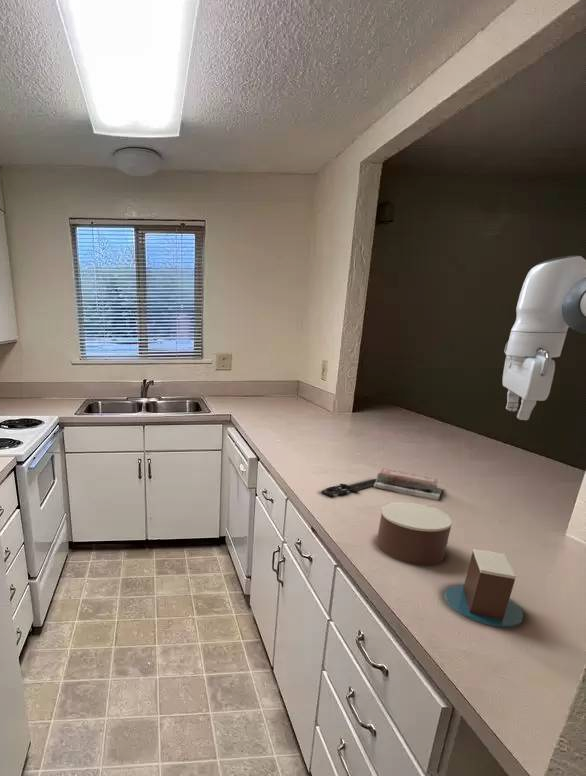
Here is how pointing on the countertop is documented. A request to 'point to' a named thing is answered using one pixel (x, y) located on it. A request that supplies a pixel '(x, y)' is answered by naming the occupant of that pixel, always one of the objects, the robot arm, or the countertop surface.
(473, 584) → the cake slice
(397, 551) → the cake
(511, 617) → the plate
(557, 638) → the countertop surface
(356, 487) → the knife
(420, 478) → the packaged product
